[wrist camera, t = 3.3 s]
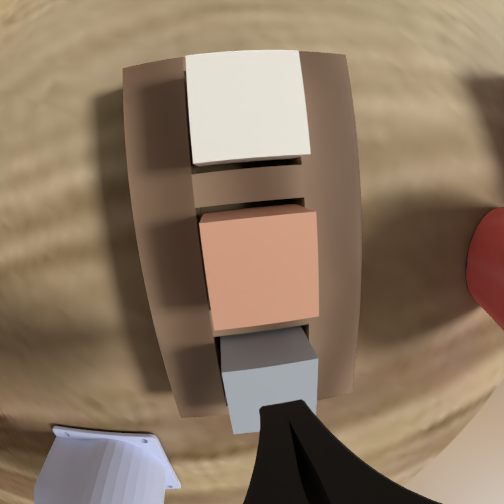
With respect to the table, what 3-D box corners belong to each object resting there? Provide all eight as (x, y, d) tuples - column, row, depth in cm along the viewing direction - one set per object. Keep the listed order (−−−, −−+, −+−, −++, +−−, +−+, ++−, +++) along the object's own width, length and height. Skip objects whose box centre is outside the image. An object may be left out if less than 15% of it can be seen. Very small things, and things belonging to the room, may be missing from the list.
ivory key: (199, 166, 12) (192, 163, 10) (192, 80, 11) (185, 55, 9) (290, 159, 13) (310, 154, 10) (281, 75, 12) (298, 50, 9)
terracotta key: (214, 299, 14) (214, 330, 11) (203, 212, 13) (199, 223, 10) (299, 288, 14) (319, 316, 11) (295, 203, 13) (316, 211, 10)
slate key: (230, 395, 15) (233, 434, 12) (220, 336, 14) (221, 372, 11) (301, 385, 16) (315, 421, 13) (300, 325, 15) (318, 358, 12)
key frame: (184, 391, 17) (181, 417, 15) (136, 83, 13) (122, 68, 10) (337, 369, 18) (351, 392, 16) (327, 70, 13) (345, 54, 11)
